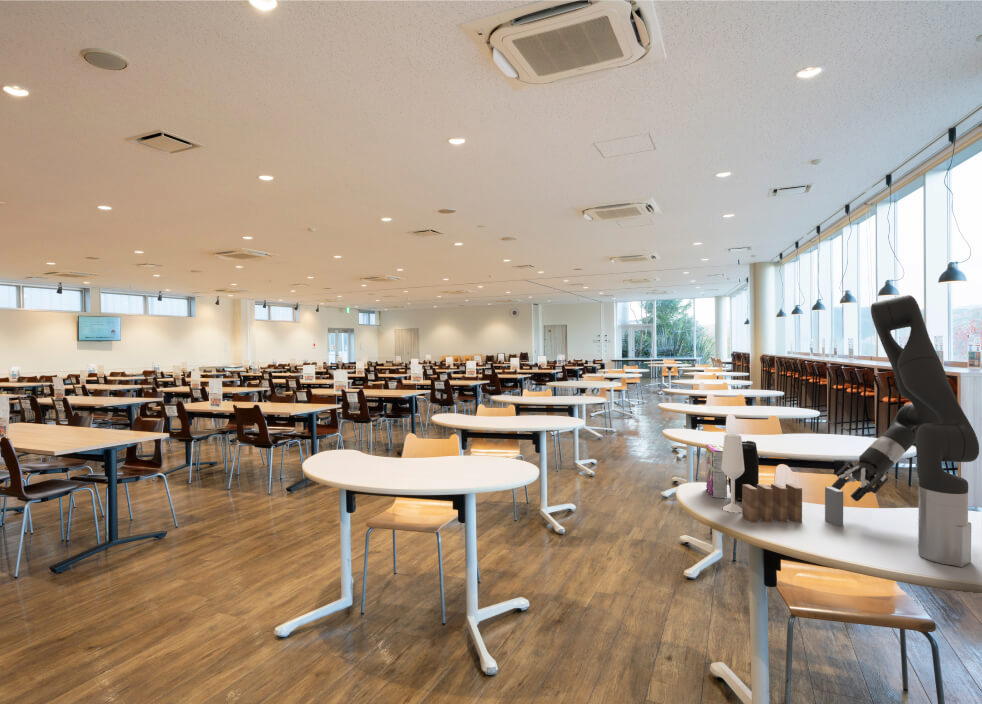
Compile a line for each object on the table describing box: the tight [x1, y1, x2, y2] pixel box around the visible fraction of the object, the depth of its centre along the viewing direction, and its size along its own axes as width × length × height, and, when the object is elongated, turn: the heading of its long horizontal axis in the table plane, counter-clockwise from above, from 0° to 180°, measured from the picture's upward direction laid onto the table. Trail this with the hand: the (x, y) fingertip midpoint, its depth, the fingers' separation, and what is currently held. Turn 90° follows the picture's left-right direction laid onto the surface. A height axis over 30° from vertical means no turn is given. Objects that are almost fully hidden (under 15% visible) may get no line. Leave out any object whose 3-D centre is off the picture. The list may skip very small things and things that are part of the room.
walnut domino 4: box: [785, 483, 803, 523], centre depth 158 cm, size 2×5×10 cm, turn 2°
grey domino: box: [824, 486, 844, 527], centre depth 154 cm, size 2×5×10 cm, turn 2°
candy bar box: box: [705, 444, 728, 499], centre depth 184 cm, size 11×5×16 cm, turn 168°
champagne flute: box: [721, 433, 744, 514], centre depth 167 cm, size 7×7×24 cm
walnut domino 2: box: [757, 483, 773, 523], centre depth 158 cm, size 2×5×10 cm, turn 2°
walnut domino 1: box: [741, 484, 758, 523], centre depth 157 cm, size 2×5×10 cm, turn 2°
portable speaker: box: [727, 440, 760, 501], centre depth 177 cm, size 9×9×20 cm
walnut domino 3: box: [770, 483, 788, 523], centre depth 158 cm, size 2×5×10 cm, turn 1°
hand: (843, 494), depth 154 cm, fingers open, 8 cm apart
